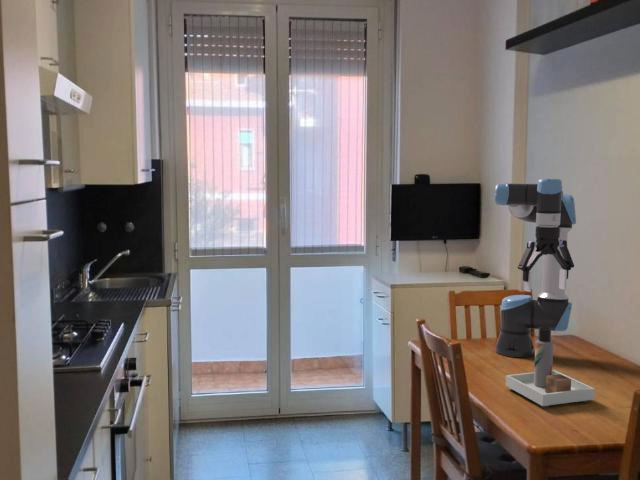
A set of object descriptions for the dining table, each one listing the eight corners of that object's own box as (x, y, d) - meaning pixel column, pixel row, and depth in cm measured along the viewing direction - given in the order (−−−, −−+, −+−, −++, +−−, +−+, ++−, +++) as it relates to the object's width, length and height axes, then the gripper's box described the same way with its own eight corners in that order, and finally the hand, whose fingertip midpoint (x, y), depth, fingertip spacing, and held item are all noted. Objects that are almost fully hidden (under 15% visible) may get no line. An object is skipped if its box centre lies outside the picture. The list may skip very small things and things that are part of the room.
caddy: (505, 388, 222) (505, 375, 221) (553, 383, 228) (554, 370, 227) (542, 409, 203) (542, 394, 202) (594, 403, 209) (594, 388, 208)
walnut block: (545, 392, 213) (545, 375, 212) (559, 390, 214) (560, 374, 214) (556, 397, 207) (556, 381, 207) (570, 396, 209) (571, 379, 208)
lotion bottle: (551, 383, 221) (554, 325, 218) (551, 389, 215) (554, 329, 213) (534, 381, 223) (536, 324, 220) (533, 387, 217) (535, 328, 215)
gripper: (521, 228, 206) (519, 294, 208) (587, 226, 213) (584, 290, 216) (508, 226, 213) (505, 290, 215) (572, 224, 220) (569, 286, 223)
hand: (545, 290), depth 215 cm, fingers open, 13 cm apart
